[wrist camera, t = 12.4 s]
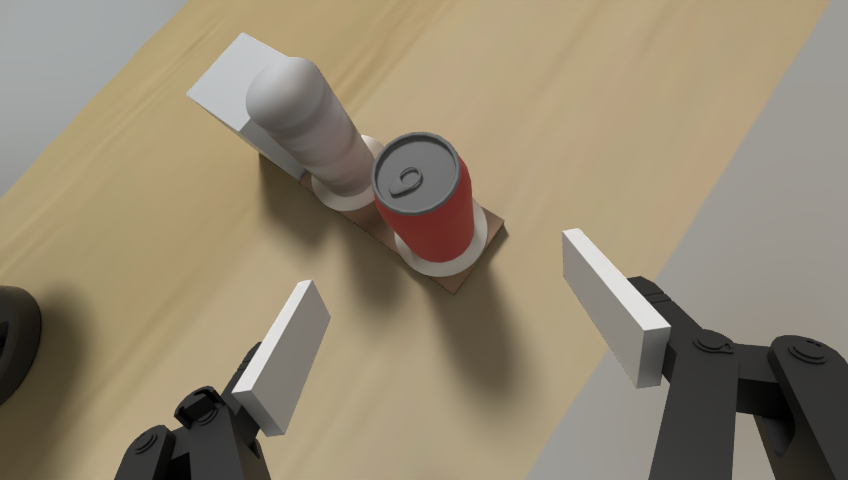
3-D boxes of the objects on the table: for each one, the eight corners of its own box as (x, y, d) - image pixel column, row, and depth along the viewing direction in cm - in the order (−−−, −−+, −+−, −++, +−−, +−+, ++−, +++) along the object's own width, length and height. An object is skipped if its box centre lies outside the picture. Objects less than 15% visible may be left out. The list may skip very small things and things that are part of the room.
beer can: (393, 228, 31) (342, 170, 20) (443, 186, 31) (422, 104, 20) (435, 278, 29) (405, 246, 18) (489, 232, 29) (493, 171, 18)
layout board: (302, 188, 36) (204, 112, 23) (351, 129, 37) (282, 25, 24) (452, 297, 30) (430, 274, 17) (505, 221, 31) (521, 147, 18)
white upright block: (258, 152, 38) (185, 94, 29) (299, 103, 39) (242, 31, 30) (302, 183, 36) (238, 131, 27) (345, 130, 37) (298, 62, 28)
